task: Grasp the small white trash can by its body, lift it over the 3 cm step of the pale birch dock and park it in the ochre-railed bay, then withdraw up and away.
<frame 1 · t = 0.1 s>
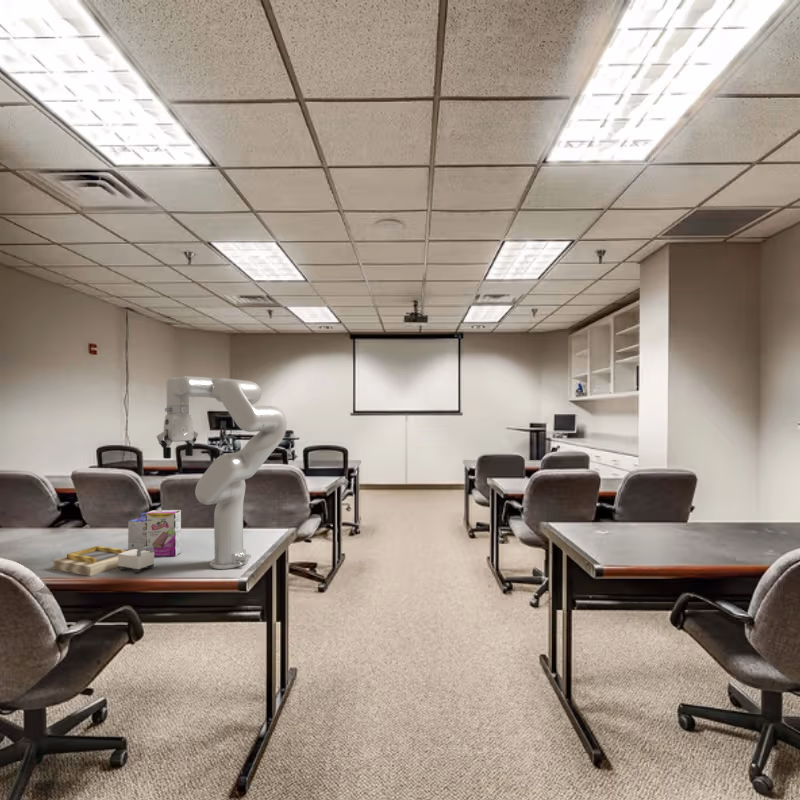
hand: (178, 457, 177), 37 cm above the table, tool pointing down, fingers open, 9 cm apart
dock: (96, 564, 168), on the table
ink cartridge box: (144, 551, 184), on the table
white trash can: (136, 569, 163), on the table
candy bar box: (163, 555, 179), on the table
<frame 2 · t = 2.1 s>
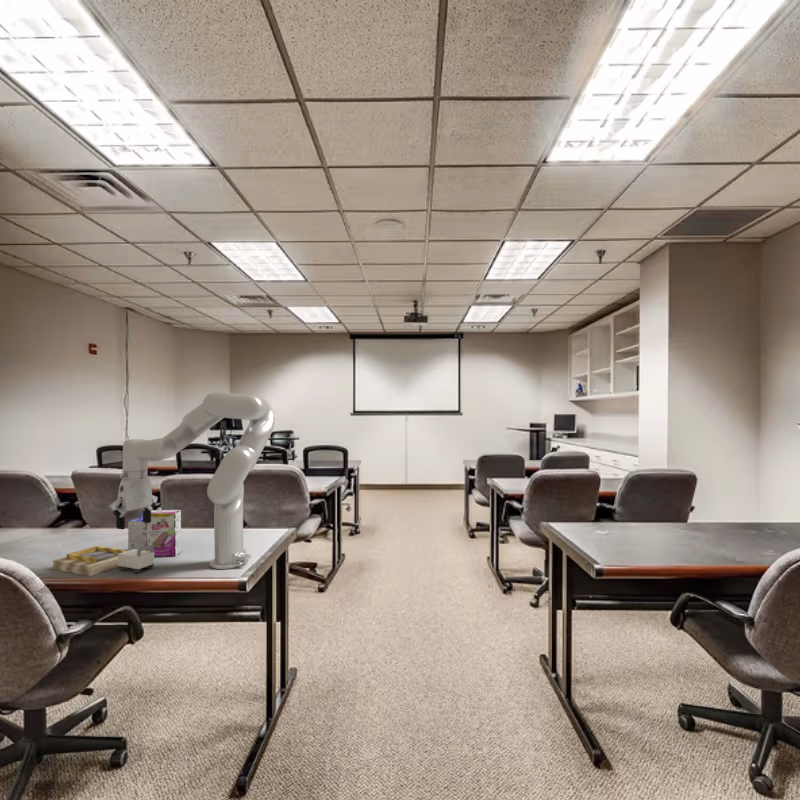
hand: (134, 525, 163), 15 cm above the table, tool pointing down, fingers open, 9 cm apart
nothing on the table moved.
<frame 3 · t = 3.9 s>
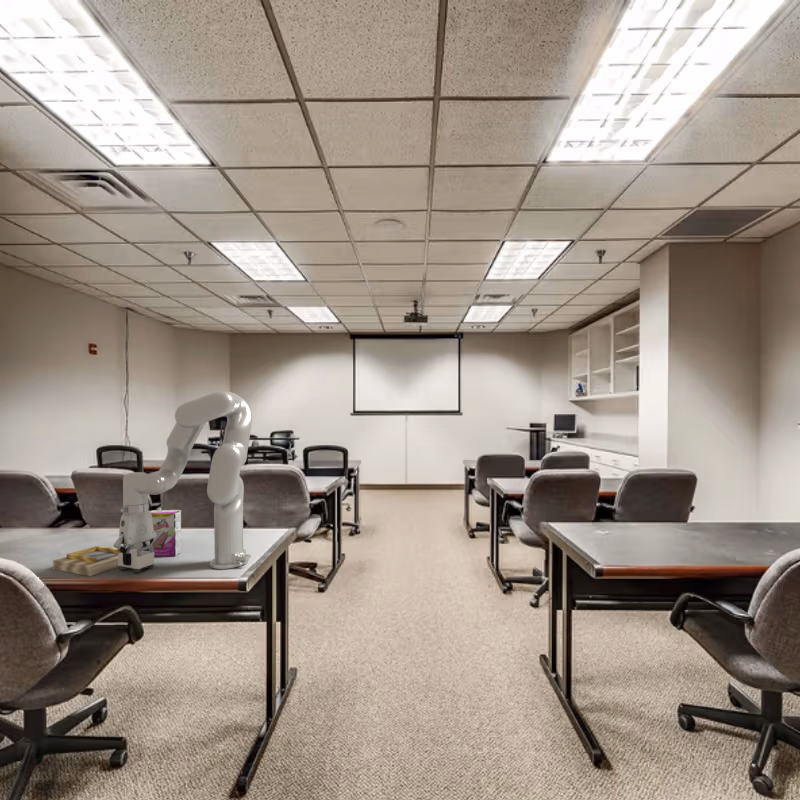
hand: (136, 561, 163), 3 cm above the table, tool pointing down, fingers closed on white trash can, 6 cm apart
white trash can: (136, 569, 163), on the table, touching gripper
everything else where it was.
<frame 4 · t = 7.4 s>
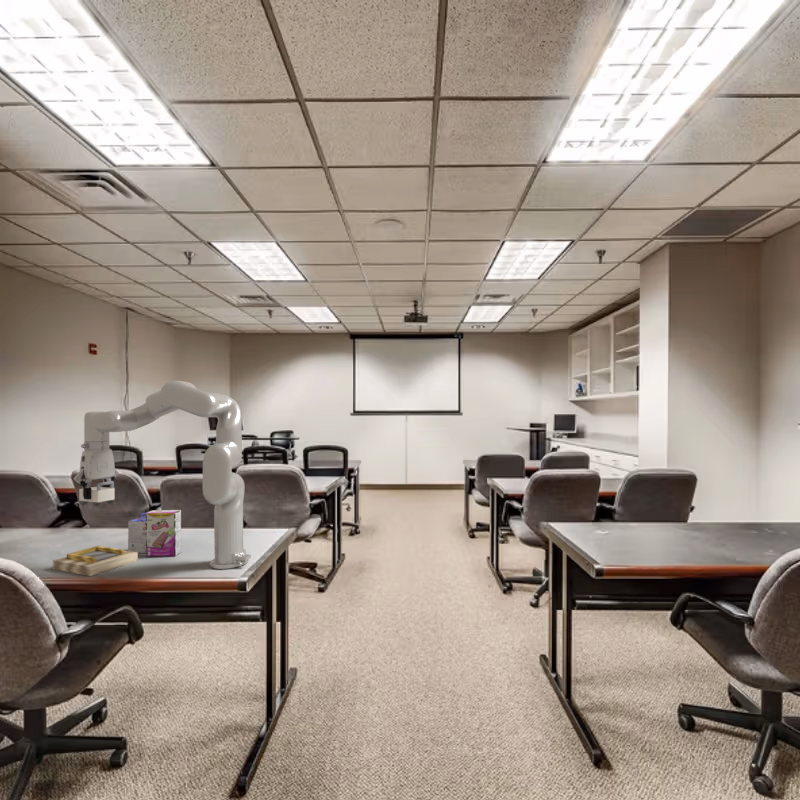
hand: (97, 496, 169), 24 cm above the table, tool pointing down, fingers closed on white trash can, 6 cm apart
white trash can: (97, 504, 169), point 21 cm above the table, touching gripper
everything else where it was.
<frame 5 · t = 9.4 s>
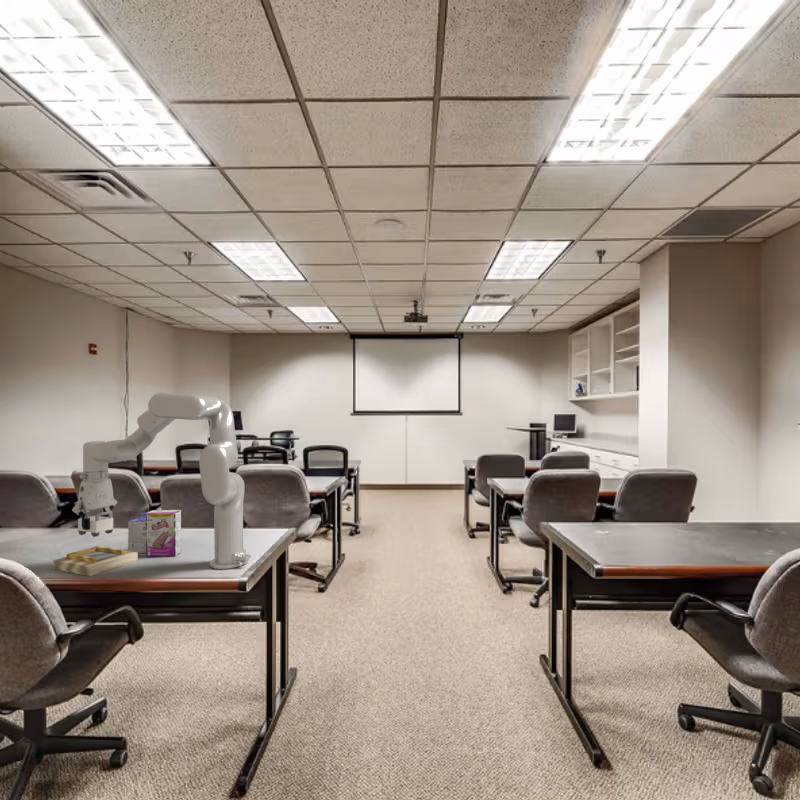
hand: (95, 526, 169), 13 cm above the table, tool pointing down, fingers closed on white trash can, 6 cm apart
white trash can: (95, 533, 169), point 11 cm above the table, touching gripper
everything else where it was.
when the fingers open (7 cm above the table, at t = 11.1 s): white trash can drops 1 cm, resting on dock.
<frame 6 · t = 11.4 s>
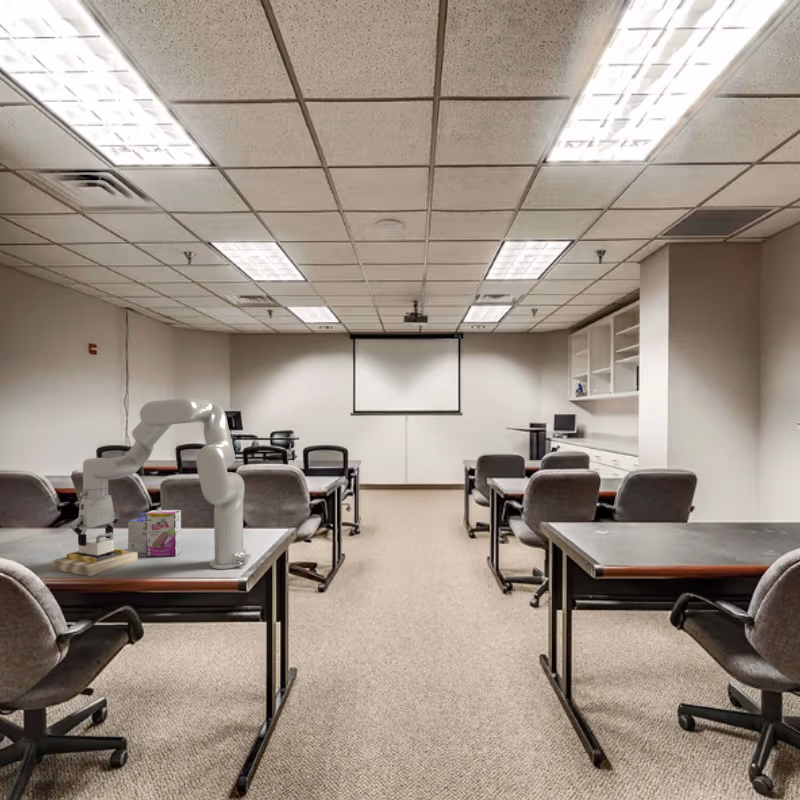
hand: (96, 541, 169), 8 cm above the table, tool pointing down, fingers open, 9 cm apart
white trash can: (96, 555, 169), point 3 cm above the table, touching dock
everything else where it was.
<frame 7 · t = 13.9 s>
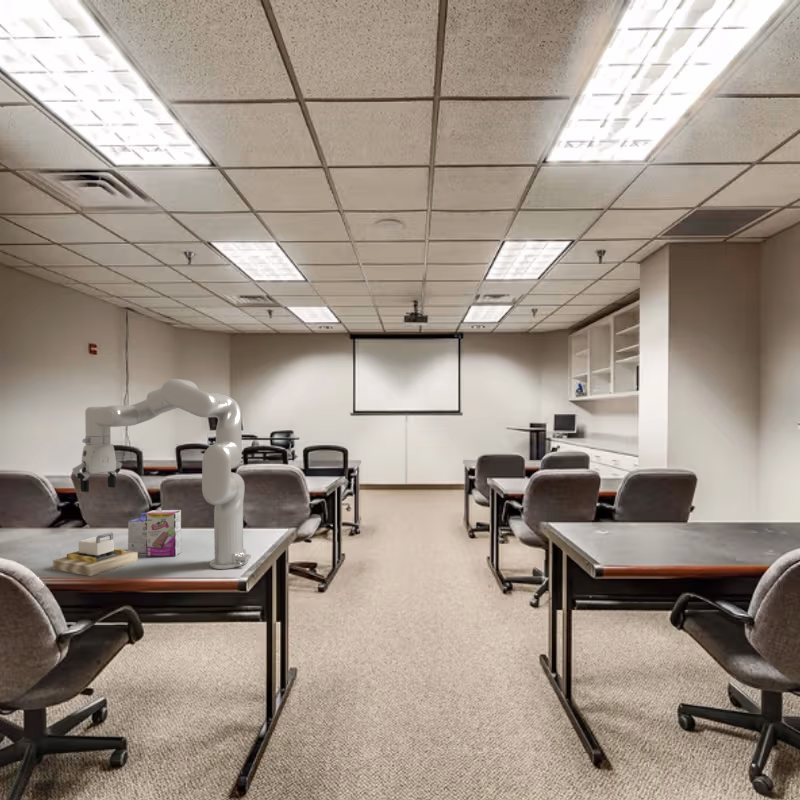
hand: (98, 489, 170), 26 cm above the table, tool pointing down, fingers open, 9 cm apart
nothing on the table moved.
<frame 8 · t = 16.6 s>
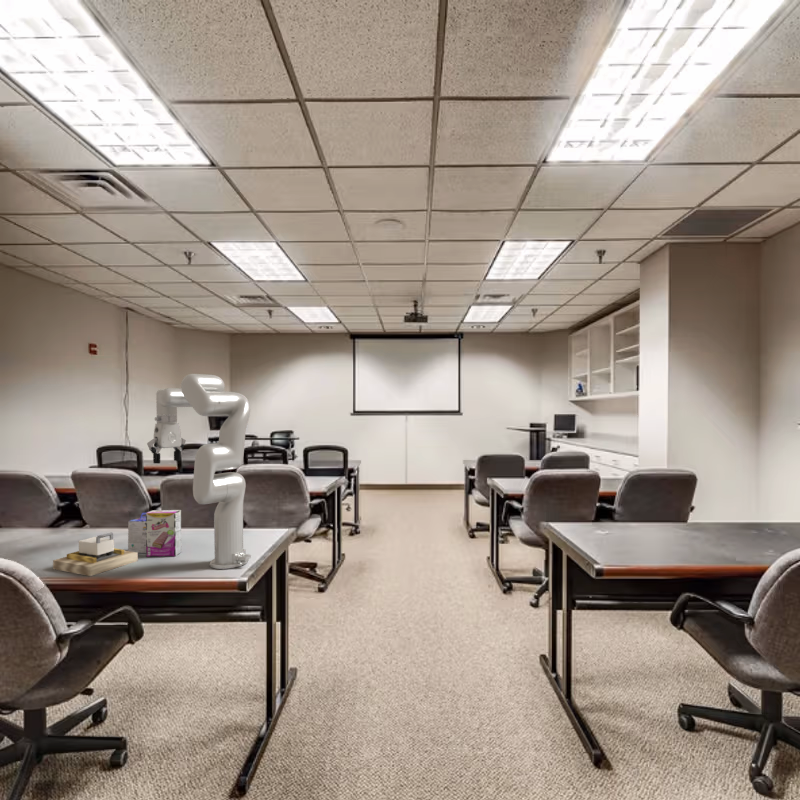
hand: (167, 462, 194), 33 cm above the table, tool pointing down, fingers open, 9 cm apart
nothing on the table moved.
at the end: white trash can 0.1 cm off-centre on the dock, point 3.2 cm above the dock's base; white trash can tilted 0°; the gripper is holding nothing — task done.
